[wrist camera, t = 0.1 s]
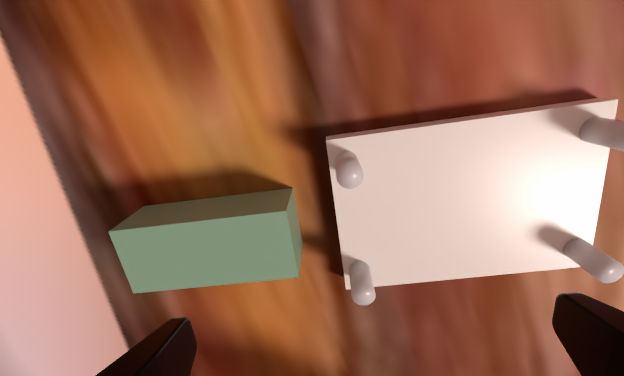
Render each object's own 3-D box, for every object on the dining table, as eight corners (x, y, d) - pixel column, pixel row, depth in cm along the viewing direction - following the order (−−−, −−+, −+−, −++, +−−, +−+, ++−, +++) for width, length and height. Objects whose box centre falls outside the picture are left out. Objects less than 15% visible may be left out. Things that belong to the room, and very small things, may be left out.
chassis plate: (573, 255, 24) (626, 292, 20) (344, 277, 26) (348, 317, 22) (598, 97, 20) (669, 103, 16) (325, 136, 22) (325, 150, 18)
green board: (303, 243, 25) (298, 277, 21) (164, 258, 26) (133, 293, 22) (293, 186, 24) (286, 210, 19) (145, 204, 25) (108, 231, 20)
